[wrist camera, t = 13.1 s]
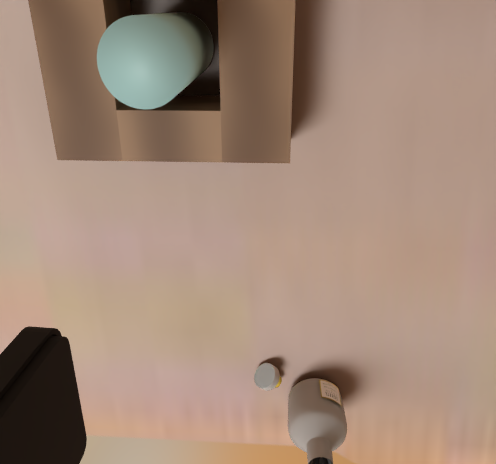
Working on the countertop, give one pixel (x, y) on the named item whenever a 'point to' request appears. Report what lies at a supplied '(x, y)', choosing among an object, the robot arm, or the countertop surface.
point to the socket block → (180, 107)
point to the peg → (153, 57)
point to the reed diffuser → (310, 414)
